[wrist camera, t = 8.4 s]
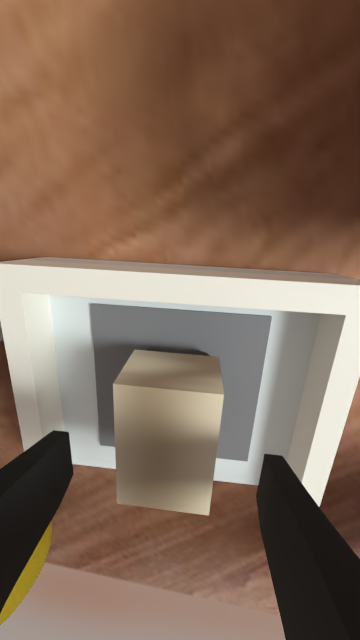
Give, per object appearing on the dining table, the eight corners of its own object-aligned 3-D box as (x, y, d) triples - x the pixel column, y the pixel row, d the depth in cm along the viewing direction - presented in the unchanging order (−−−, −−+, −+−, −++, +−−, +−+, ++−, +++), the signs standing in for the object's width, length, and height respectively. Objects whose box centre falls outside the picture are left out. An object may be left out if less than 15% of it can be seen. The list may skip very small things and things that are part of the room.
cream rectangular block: (217, 346, 13) (224, 394, 9) (207, 440, 15) (208, 515, 11) (140, 339, 13) (112, 383, 9) (140, 433, 15) (116, 503, 11)
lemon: (36, 461, 19) (-72, 603, 12) (84, 506, 20) (15, 663, 13) (-7, 489, 21) (-127, 632, 13) (41, 530, 22) (-45, 684, 14)
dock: (334, 273, 13) (386, 287, 10) (289, 462, 17) (313, 525, 14) (45, 256, 14) (-11, 263, 11) (66, 438, 18) (31, 490, 15)
